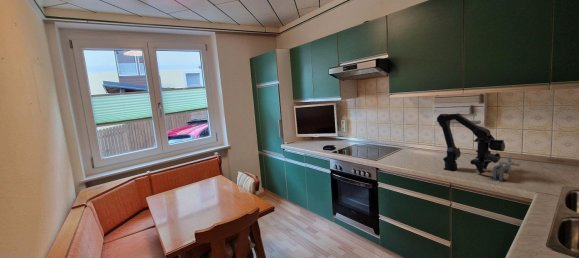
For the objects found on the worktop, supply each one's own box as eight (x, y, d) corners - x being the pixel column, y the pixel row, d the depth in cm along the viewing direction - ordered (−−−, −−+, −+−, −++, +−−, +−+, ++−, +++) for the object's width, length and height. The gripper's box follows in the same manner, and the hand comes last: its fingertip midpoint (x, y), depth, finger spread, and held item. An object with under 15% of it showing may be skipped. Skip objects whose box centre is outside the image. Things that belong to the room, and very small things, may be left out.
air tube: (475, 174, 163) (475, 167, 163) (478, 172, 165) (478, 166, 165) (505, 181, 150) (506, 174, 149) (508, 179, 152) (509, 173, 151)
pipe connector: (519, 169, 165) (520, 155, 163) (518, 174, 158) (519, 158, 157) (500, 167, 172) (500, 153, 170) (497, 171, 165) (498, 157, 164)
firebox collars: (492, 180, 153) (492, 167, 151) (500, 176, 158) (500, 163, 157) (501, 182, 149) (501, 169, 148) (509, 177, 154) (509, 165, 153)
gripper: (491, 154, 148) (490, 179, 150) (505, 148, 157) (504, 172, 159) (470, 151, 157) (469, 175, 159) (484, 145, 166) (483, 168, 169)
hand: (482, 172), depth 161 cm, fingers closed on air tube, 4 cm apart
